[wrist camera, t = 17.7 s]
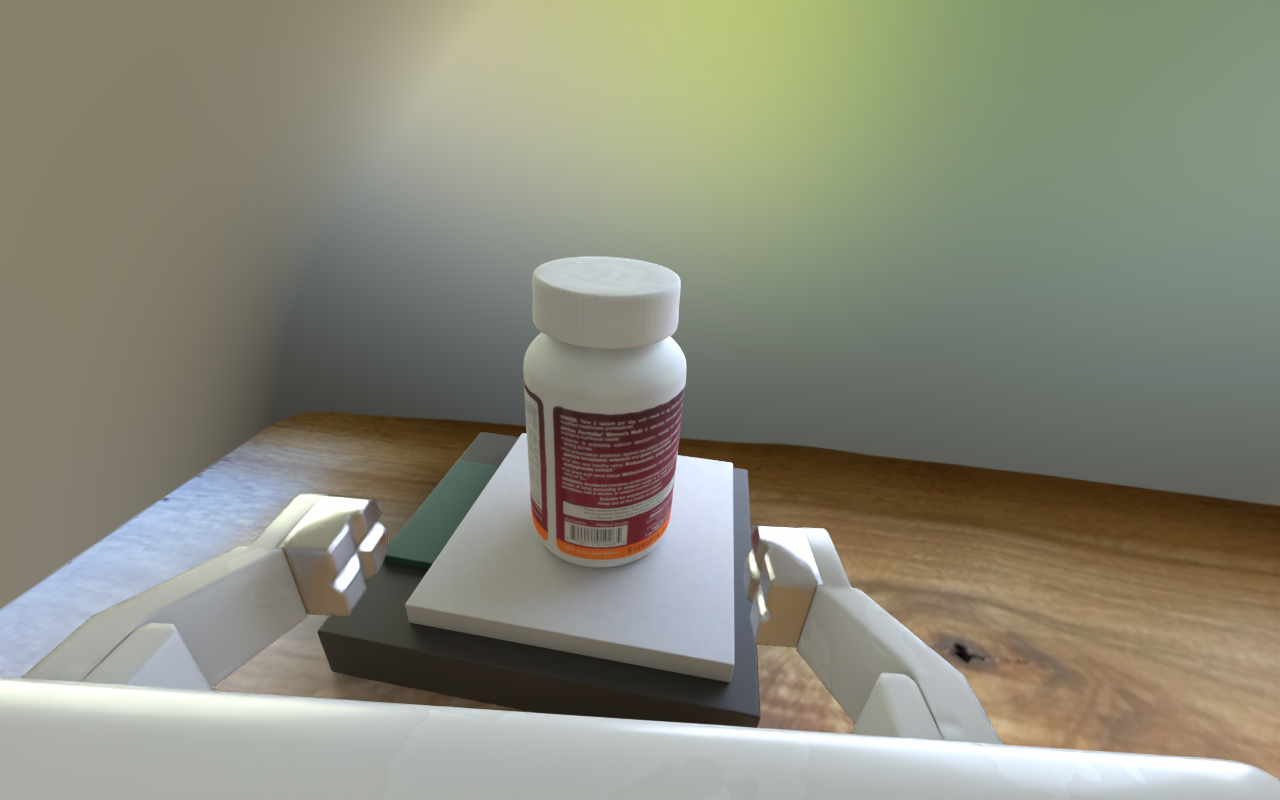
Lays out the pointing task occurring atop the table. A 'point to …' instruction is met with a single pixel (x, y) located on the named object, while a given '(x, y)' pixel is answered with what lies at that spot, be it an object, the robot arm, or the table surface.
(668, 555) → the scale
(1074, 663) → the table surface
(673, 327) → the pill bottle
